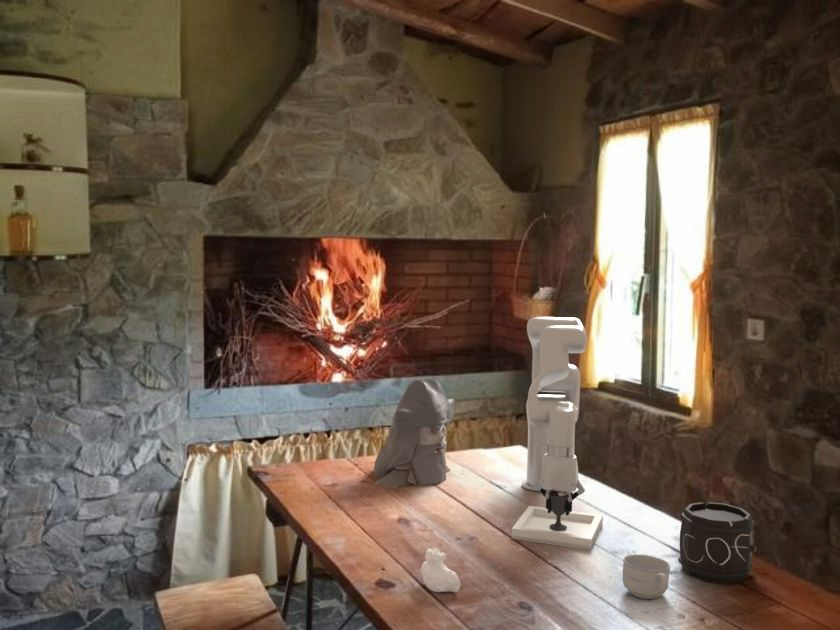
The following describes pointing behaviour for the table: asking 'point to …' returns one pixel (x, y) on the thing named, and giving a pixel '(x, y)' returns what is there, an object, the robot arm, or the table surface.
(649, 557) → the teacup
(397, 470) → the bust
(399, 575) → the table surface
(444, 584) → the cream lumpy figure
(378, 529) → the table surface
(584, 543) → the tray
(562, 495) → the sundae
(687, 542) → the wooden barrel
